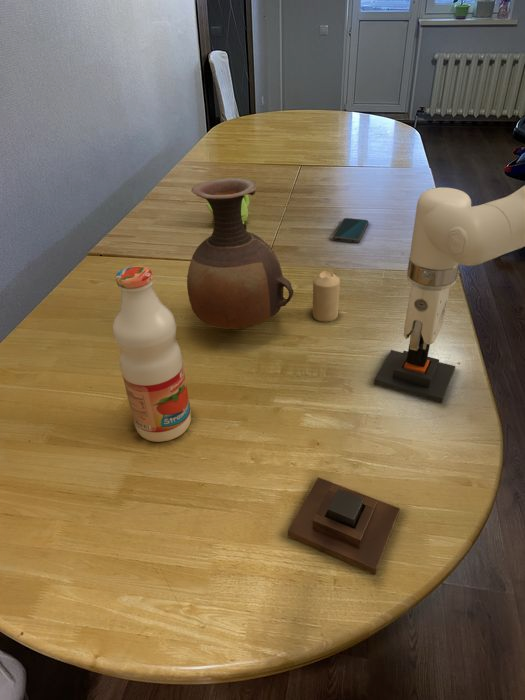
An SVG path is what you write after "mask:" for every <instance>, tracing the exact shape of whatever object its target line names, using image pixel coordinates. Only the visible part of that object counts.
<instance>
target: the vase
mask: <svg viewBox="0 0 525 700" xmlns="http://www.w3.org/2000/svg"><path fill="white" fill-rule="evenodd" d="M257 189H258V186H257V183H256V182H255V181H254V180H251V179H248V178H242V177H225V178H223V177H222V178H217V179H209V180H207V181H202V182H199V183H197V184H195V185H194V186H193V187H192V188H191V192H192V194H194V195H196V197H200V198H201V199H204V200H206V201H207V203H209V204H210V206H211V208H212V211H213V217H212V219H213V231H212V233H211V235H210V236H208V237H207V238H206V239H205V240H203V241H202V242H201V243H200V244H199V245H198V246H197V247H196V249H195V251H194V252H193V254H192V256H191V260H190V262H189V265H188V271H187V276H186V286H187V287H186V289H187V296H188V301H189V304H190V307H191V310H192V312H193V314H194V316H195V317H196V318H197V319H198V320H199V321H200V322H201V323H203V324H204V325H207V326H210V327H214V328H217V329H226V330H227V329H228V330H243V329H247V328H252V327H256V326H258V325H261V324H263V323H265V322H267V321H269V320H270V319H272V318H273V317H275V316H276V315H277V314H278V313H279V312H280V311H281V308H283V307H285V306H286V305H287V304H288V303H289V302H290V301H291V300H292V298H293V296H294V290H293V286H292V283H291V282H290V281H289V280H288V279H287V278H286V277H284V275H283V271H282V266H281V263H280V261H279V259H278V257H277V255H276V253H275V252H274V251H273V249H272V248H271V246H270V245H269V244H268V243H267V242H266V241H265V240H264V239H263V238H261V237H260V236H258V235H256V234H255V233H253V232H250V231H247V225H246V224H245V223H244V224H243V222H242V217H241V204H242V200H243V197H244V195H247V194H248V195H250V196H254V195H255V194H256V191H257ZM284 288H285V289H286V290H287V291H288V297H287V298H285V297H284V292H285V291H284Z"/></svg>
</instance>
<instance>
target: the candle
mask: <svg viewBox="0 0 525 700" xmlns="http://www.w3.org/2000/svg"><path fill="white" fill-rule="evenodd" d="M340 285H341V279H340V278H339V277H338V276H337V275H336V274H334V273H333V272H331V271H330V270H324V271H321V272H320V273H318V274H317V275H316V276H315V277H314V278H313V279H312V317H313V318H314V319H315V320H316V321H319V322H332V321H335V320H336V319H337V318H338V316H339V303H340V288H341V287H340Z"/></svg>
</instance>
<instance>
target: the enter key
mask: <svg viewBox="0 0 525 700" xmlns="http://www.w3.org/2000/svg"><path fill="white" fill-rule="evenodd" d="M429 361H430V360H427V362H426V363H425V366H424V367H421V366H417V365H413V364H409V363H407V361H406V363H405V365H404V369H408V370H412V371H415V372H419V373H423V374H426V372H427V369H428V366H429Z"/></svg>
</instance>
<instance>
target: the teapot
mask: <svg viewBox="0 0 525 700" xmlns="http://www.w3.org/2000/svg"><path fill="white" fill-rule="evenodd" d="M250 204H251V202H250V197H249V194H247V195H244V197H243V200H242V204H241V217H242V222H243V224H245V222H246V221H247V220H248V217H249V210H248V209H249V208H248V206H249V205H250ZM205 205H206V207H207V208H208V210H209V212H210V214H211V216H212V218H213V211H212V208H211V206H210V204H209V202H207V203H206V204H205Z"/></svg>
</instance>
